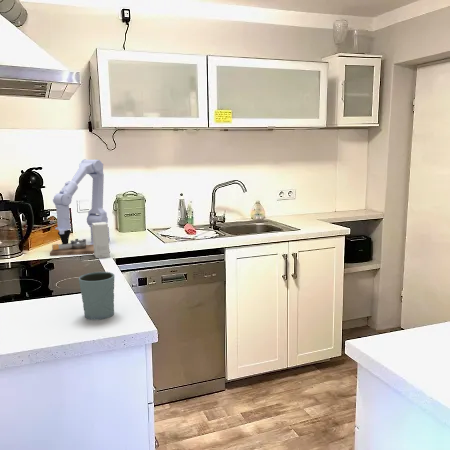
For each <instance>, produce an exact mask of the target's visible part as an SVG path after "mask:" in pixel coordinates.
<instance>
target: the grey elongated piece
mask: <svg viewBox="0 0 450 450" xmlns="http://www.w3.org/2000/svg"><path fill="white" fill-rule="evenodd" d="M86 245H87V239H86V238H82V239H79V238H74V240H70V242H68V243H67V244H62V243H59V244H57V243H56V244H52V245H51V247H52V248H51V250H52V249H53V250H59V249H65V248H71V249H83V248H86Z"/></svg>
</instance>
